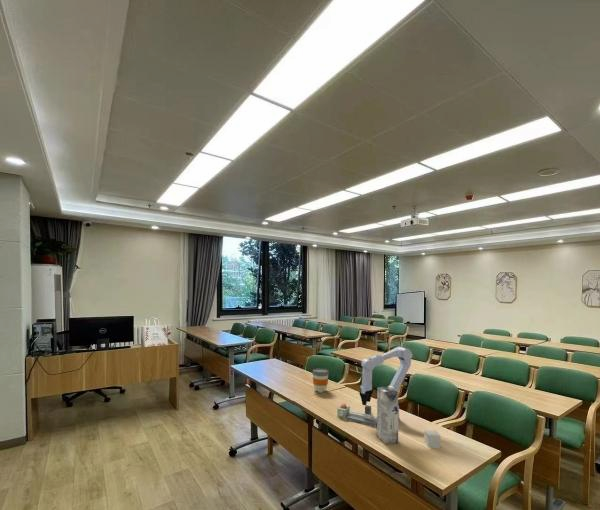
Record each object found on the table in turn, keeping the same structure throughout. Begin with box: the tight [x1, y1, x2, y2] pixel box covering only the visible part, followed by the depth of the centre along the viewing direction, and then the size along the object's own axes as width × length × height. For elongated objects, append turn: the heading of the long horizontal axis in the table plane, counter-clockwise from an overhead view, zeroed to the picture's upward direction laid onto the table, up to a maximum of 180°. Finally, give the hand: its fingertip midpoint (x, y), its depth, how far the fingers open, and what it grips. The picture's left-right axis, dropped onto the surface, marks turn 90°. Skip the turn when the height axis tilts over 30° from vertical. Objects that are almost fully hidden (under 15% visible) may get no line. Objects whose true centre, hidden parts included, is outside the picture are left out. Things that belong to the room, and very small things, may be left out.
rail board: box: [344, 411, 377, 427], centre depth 192 cm, size 18×10×3 cm, turn 61°
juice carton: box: [376, 385, 399, 445], centre depth 168 cm, size 9×10×27 cm
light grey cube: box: [423, 429, 442, 449], centre depth 163 cm, size 6×6×6 cm
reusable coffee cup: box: [312, 368, 330, 393], centre depth 247 cm, size 13×13×15 cm
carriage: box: [362, 404, 374, 420], centre depth 191 cm, size 5×4×7 cm
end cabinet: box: [336, 404, 351, 419], centre depth 198 cm, size 5×8×5 cm, turn 151°
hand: (366, 403), depth 192 cm, fingers open, 7 cm apart
